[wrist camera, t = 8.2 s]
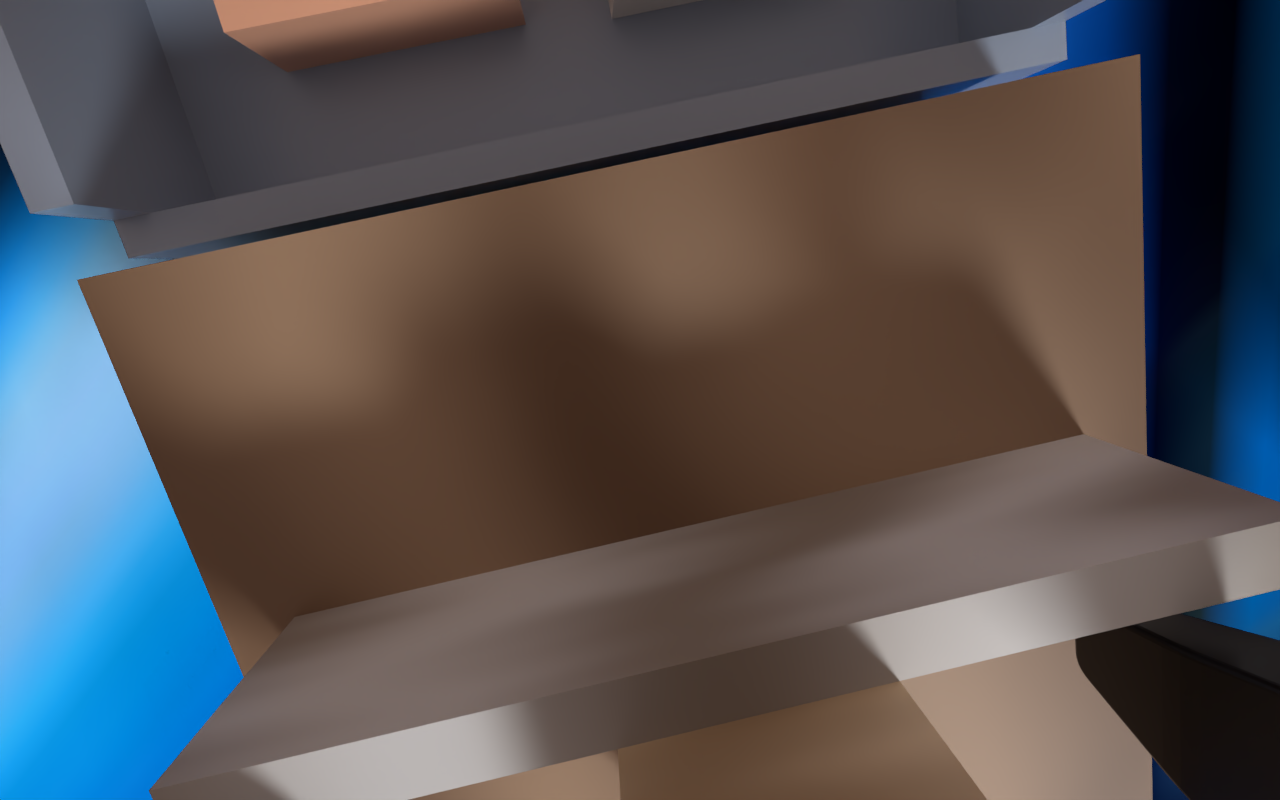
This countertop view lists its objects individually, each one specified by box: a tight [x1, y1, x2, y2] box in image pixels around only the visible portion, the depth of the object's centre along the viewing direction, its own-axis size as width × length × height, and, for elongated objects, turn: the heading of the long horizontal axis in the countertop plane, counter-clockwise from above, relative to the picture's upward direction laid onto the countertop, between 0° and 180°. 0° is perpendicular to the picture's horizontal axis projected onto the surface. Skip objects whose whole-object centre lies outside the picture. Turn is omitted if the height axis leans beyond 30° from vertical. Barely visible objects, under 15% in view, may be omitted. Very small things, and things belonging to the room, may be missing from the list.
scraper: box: [149, 434, 1280, 800], centre depth 7 cm, size 12×5×5 cm, turn 102°
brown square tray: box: [77, 54, 1152, 800], centre depth 12 cm, size 14×14×5 cm
